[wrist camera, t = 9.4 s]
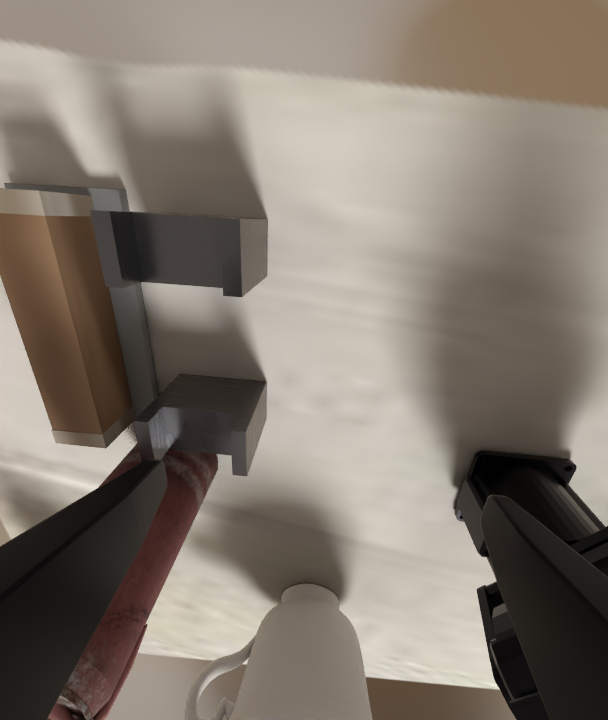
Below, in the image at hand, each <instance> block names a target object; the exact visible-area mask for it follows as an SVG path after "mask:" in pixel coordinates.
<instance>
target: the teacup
mask: <svg viewBox="0 0 608 720" xmlns="http://www.w3.org/2000/svg"><path fill="white" fill-rule="evenodd" d="M248 657H249V660H248V663H247V667H246V670H245V674H244V677H243V681H242V684H241V688H240V692H239V694H238V697H237V701H236V703H232V702H230V701H229V700H228V699H227V698H226V697H224V698H223V699H222V701H221V702H220V705H219V707H218V709H217V711H216V713H215V715H214V716H213V717H212V718H211V719H209V720H222V719H223V716H224V715H225V714H226V717H227V720H372V715H371V710H370V704H369V698H368V692H367V685H366V679H365V672H364V666H363V659H362V654H361V650H360V645H359V641H358V638H357V635H356V632H355V629H354V627H353V625H352V624H351V622H350V621H349V619H348V618H347V617H346V616H345V615H344V614H343V613H342V612H341V611H339V600H338V598H337V596H336V595H335V594H334V593H333V592H331V591H330V590H328V589H326V588H325V587H322V586H319V585H315V584H298V585H294V586H291V587H289V588H287V589H286V590H285V591H284V592H283V594H282V596H281V604H279V605H277V606H275V607H274V608H272V609H271V610H270V611H269V612H268V613H267V615H266V616H265V617H264V619H263V621H262V622H261V625H260V627H259V629H258V631H257V634H256V635H255V636H254V638H253V639H252V640H251V641H250V642H249V643H248V644H247V645H246V646H245V647H244V648H243V649H242V650H240V651H239V652H237V653H235V654H232V655H228V656H225V657H221V658H219V659H217V660H215V661H213V662H211V663H210V664H208V665H207V666H206V667H205V668H204V669H203V670H202V671H201V672H200V673H199V675H198V676H197V678H196V679H195V681H194V683H193V684H192V686H191V689H190V691H189V694H188V698H187V702H186V709H185V720H203V719H201V718H200V717H199V716H198V714H197V703H198V699H199V697H200V695H201V693H202V691H203V690H204V688H205V687H206V686H207V684H208V683H209V682H210V681H211V680H213V679H214V678H215V677H216V676H218V675H220V674H222V673H225V672H227V671H230V670H233V669H235V668H237V667H238V666H240V665H241V664H242V663H243V662H245V661H246V660H247V659H248Z"/></svg>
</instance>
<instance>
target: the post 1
mask: <svg viewBox="0 0 608 720" xmlns="http://www.w3.org/2000/svg"><path fill="white" fill-rule="evenodd" d="M90 213H91V218H92V223H93V228H94V233H95V238H96V242H97V247H98V252H99V257H100V262H101V267H102V272H103V276H104V281H105V286H106V287H115V288H125V287H128V286H132V285H135V284H138V283H141V282H151V283H165V284H178V285H192V286H206V287H219V288H223V296H235V297H243V296H244V295H245V294H246V293H248V292H249V291H250V290H251V289H252V288H253V287H255V286H256V285H257V284H258V283H259V282H261V281H262V280H263V279H264V278H265V277H266V276H267V236H268V219H254V218H237V217H221V216H204V215H188V214H171V213H152V212H127V211H102V210H90Z"/></svg>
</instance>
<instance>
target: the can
mask: <svg viewBox="0 0 608 720" xmlns="http://www.w3.org/2000/svg"><path fill="white" fill-rule="evenodd" d="M161 460H162V461H163V462H164V466H165V472H166V477H167V487H166V490H165V493H164V495H163V498H162V500H161V502H160V505H159V507H158V509H157V512H156V514H155V516H154V519H153V521H152V523H151V526H150V528H149V530H148V533H147V535H146V537H145V539H144V542H143V544H142V546H141V548H140V550H139V551H138V553H137V555H136V557H135V559H134V561H133V563H132V564H131V566H130V568H129V570H128V572H127V574H126V575H125V577H124V579H123V581H122V583H121V585H120V586H119V588H118V590H117V592H116V594H115V596H114V597H113V599H112V601H111V603H110V605H109V607H108V608H107V610H106V612H105V614H104V616H103V618H102V619H101V621H100V623H99V625H98V627H97V629H96V630H95V632H94V634H93V636H92V638H91V640H90V641H89V643H88V645H87V647H86V649H85V651H84V652H83V654H82V656H81V658H80V660H79V662H78V663H77V665H76V667H75V669H74V671H73V673H72V674H71V676H70V678H69V680H68V682H67V684H66V685H65V687H64V689H63V691H62V693H61V695H60V696H59V698H58V700H57V702H56V704H55V706H54V707H53V709H52V711H51V713H50V715H49V717H48V718H47V720H92V719H93V718H94V719H93V720H104V719H105V718H106V717H107V715H108V713H109V711H110V709H111V707H112V706H113V703H114V702H115V700H116V698H117V696H118V694H119V692H120V690H121V688H122V686H123V684H124V682H125V680H126V678H127V676H128V674H129V672H130V670H131V668H132V666H133V663H134V660H135V657H136V655H137V652H138V650H139V647H140V644H141V641H142V639H143V636H144V633H145V631H146V628H147V624H146V621H147V619H148V617H149V615H150V613H151V611H152V609H153V607H154V604H155V602H156V600H157V598H158V596H159V594H160V592H161V589H162V587H163V585H164V583H165V581H166V579H167V577H168V574H169V572H170V570H171V568H172V566H173V564H174V562H175V560H176V557H177V555H178V553H179V551H180V549H181V547H182V545H183V542H184V540H185V538H186V536H187V534H188V532H189V530H190V528H191V525H192V523H193V521H194V519H195V517H196V515H197V513H198V510H199V508H200V506H201V504H202V502H203V500H204V498H205V496H206V493H207V491H208V489H209V487H210V485H211V483H212V481H213V478H214V476H215V474H216V472H217V470H218V459H217V456H216V454H214V453H204V452H195V451H185V450H176V449H168V451H167V452H166V453H165V455H164V456H163V458H162V459H161ZM141 462H142V461H141V456H140V452H139V447H138V443H137V444H136V445H135V447H134V448H133V449H132V450H131V451H130V452H129V453H128V455H127V456H126V457H125V458H124V459H123V460H122V461H121V463H120V464H119V465H118V466H117V467H116V468H115V469H114V470H113V472H112V473H111V474H110V475H109V476H108V477H107V478H106V480H105V481H104V482H103V483H102V484H101V485H100V486H99V487H101V486H102V485H104V484H106V483H107V482H109V481H111V480H112V479H114V478H116V477H118V476H119V475H121V474H123V473H124V472H126V471H128V470H129V469H131V468H133V467H134V466H136V465H138V464H139V463H141ZM145 624H146V625H145Z"/></svg>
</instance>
